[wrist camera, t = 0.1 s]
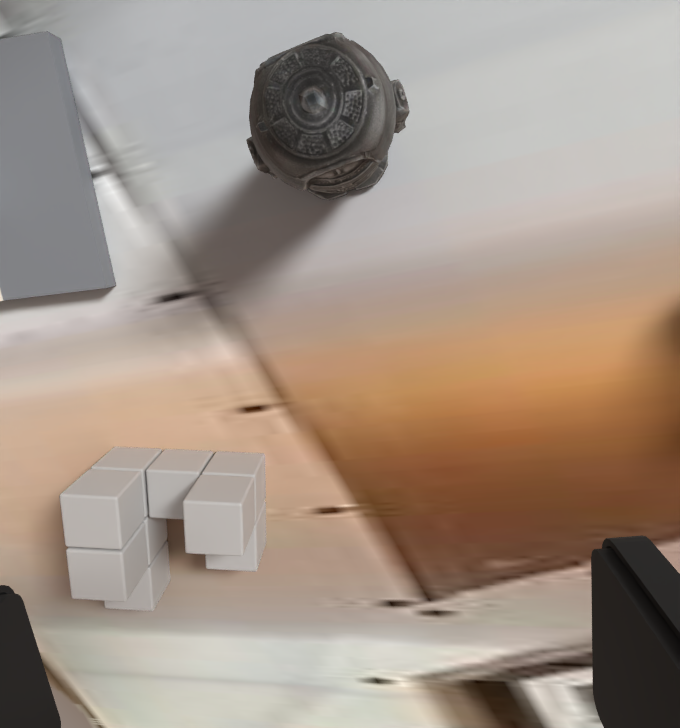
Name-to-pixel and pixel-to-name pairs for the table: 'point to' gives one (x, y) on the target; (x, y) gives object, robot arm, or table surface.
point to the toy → (325, 116)
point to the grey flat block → (45, 178)
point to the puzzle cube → (160, 520)
